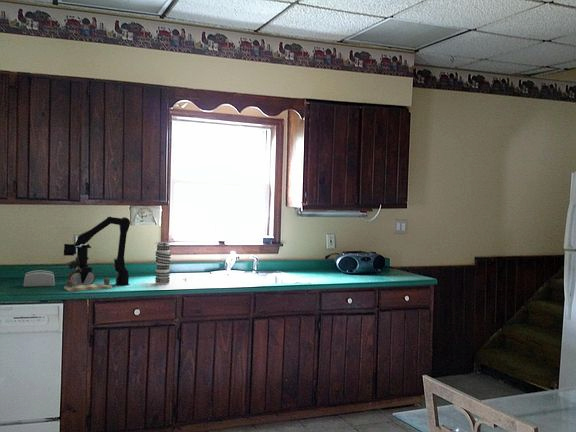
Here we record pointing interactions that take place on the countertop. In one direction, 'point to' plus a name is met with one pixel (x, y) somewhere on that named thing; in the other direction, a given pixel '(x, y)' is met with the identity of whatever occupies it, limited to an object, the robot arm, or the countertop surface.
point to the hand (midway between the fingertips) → (81, 282)
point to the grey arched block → (39, 278)
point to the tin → (77, 278)
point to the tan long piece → (87, 286)
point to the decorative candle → (162, 263)
